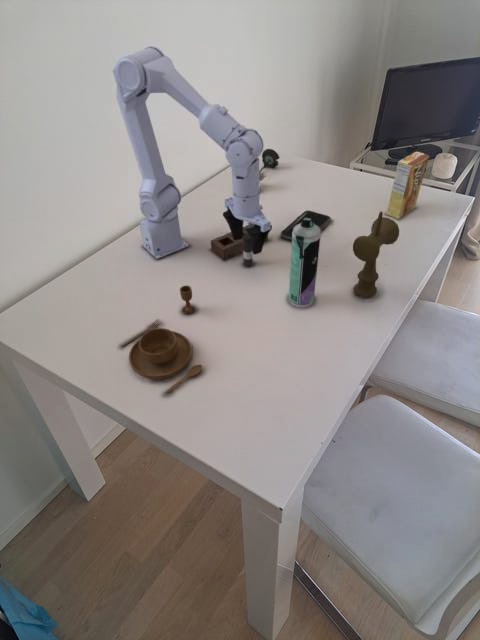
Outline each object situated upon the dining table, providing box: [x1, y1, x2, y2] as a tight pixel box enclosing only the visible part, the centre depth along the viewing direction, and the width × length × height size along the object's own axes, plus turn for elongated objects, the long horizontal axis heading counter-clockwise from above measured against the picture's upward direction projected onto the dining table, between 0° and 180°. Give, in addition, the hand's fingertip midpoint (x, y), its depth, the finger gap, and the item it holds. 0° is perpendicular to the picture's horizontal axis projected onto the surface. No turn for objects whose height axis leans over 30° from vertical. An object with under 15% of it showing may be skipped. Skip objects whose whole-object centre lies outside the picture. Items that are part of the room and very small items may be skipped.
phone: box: [280, 210, 331, 242], centre depth 116 cm, size 8×1×15 cm
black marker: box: [242, 234, 254, 268], centre depth 103 cm, size 2×2×8 cm
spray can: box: [288, 217, 322, 309], centre depth 88 cm, size 6×6×20 cm
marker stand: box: [210, 224, 269, 261], centre depth 110 cm, size 14×6×3 cm, turn 126°
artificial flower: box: [259, 148, 280, 192], centre depth 136 cm, size 9×22×10 cm, turn 152°
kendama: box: [352, 211, 400, 299], centre depth 89 cm, size 6×10×20 cm, turn 140°
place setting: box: [120, 285, 203, 395], centre depth 83 cm, size 18×20×6 cm
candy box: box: [386, 151, 430, 220], centre depth 116 cm, size 9×4×15 cm, turn 134°
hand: (247, 245), depth 102 cm, fingers open, 7 cm apart
